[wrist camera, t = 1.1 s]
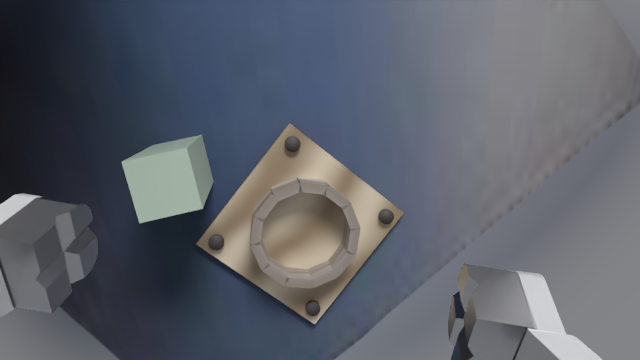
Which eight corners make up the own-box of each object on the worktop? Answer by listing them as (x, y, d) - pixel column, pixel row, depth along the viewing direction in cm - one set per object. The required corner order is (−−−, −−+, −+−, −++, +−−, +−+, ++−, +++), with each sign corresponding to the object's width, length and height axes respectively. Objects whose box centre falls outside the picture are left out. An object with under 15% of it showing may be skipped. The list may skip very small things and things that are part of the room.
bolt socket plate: (196, 242, 50) (192, 253, 47) (289, 122, 49) (292, 125, 46) (313, 321, 54) (318, 337, 50) (401, 211, 53) (413, 220, 49)
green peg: (165, 192, 49) (139, 223, 37) (152, 145, 48) (121, 161, 36) (213, 181, 49) (202, 208, 38) (201, 134, 48) (186, 147, 37)
